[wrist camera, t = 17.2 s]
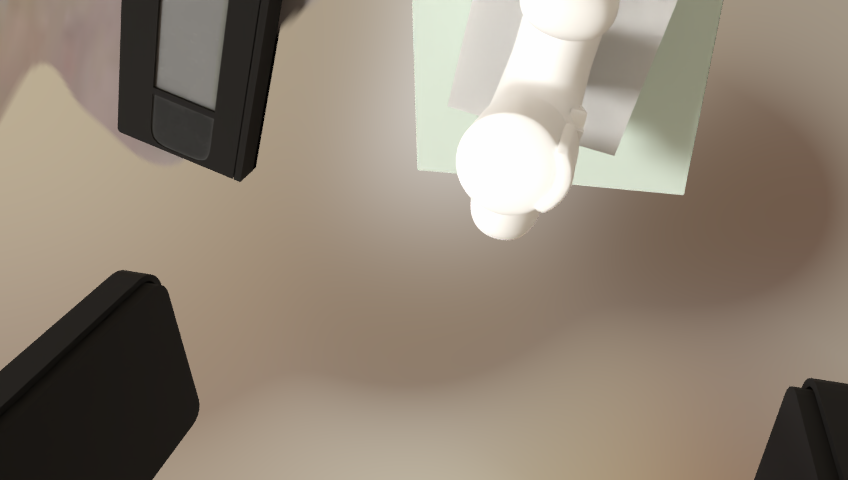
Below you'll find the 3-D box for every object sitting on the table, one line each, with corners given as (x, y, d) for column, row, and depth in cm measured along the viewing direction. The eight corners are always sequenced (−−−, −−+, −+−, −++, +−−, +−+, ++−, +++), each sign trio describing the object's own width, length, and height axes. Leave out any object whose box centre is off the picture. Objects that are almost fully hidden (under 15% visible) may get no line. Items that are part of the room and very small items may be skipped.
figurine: (459, 100, 32) (352, 275, 20) (513, -118, 27) (411, -65, 14) (607, 144, 31) (591, 354, 19) (692, -72, 26) (747, 26, 14)
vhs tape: (139, 118, 39) (117, 131, 37) (153, -154, 31) (126, -152, 29) (256, 166, 39) (240, 182, 37) (302, -95, 30) (283, -90, 29)
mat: (412, -172, 27) (406, -172, 27) (756, -182, 24) (760, -182, 24) (421, 163, 35) (417, 169, 34) (682, 187, 32) (683, 194, 32)
